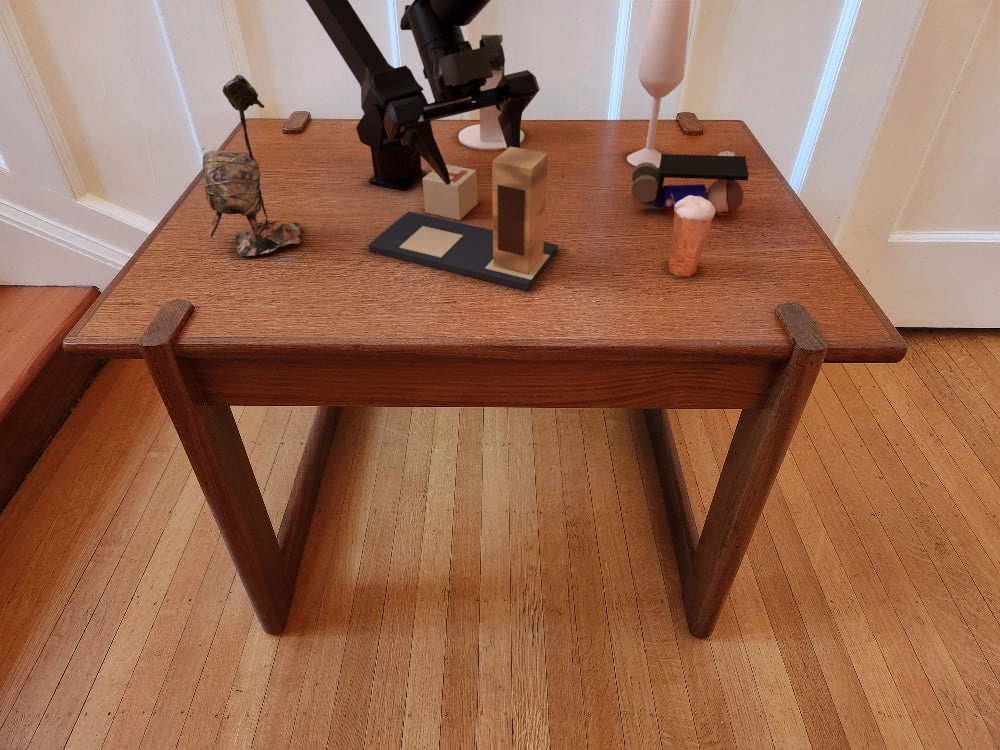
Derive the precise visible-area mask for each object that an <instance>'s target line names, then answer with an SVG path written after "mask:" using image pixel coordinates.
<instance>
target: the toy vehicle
mask: <svg viewBox="0 0 1000 750" xmlns="http://www.w3.org/2000/svg"><path fill="white" fill-rule="evenodd" d="M749 177H750V176H749V169H748V164H747V158H746V156H743V155H738V156H737V155H735V156H717V155H713V154H712V155H708V154H675V153H661V161H660V166H659V168H657V167H656V166H655V165H654V164H652V163H648V162H644V163H640V164H638V165H637V166H635V167H634V168H633V170H632V175H631V180H632V186H631V195H632V196H633V198H634V199H635V200H636V201H639V202H641V203H649V204H650V203H652V204H653V203H654V207H652V206H651V207H649V206H648V207H644V208H642V210H643V211H645V212H663V211H666V210H667V209H674V204H673V200H674V203H675V204H676V203H677V202H678V201H680V200H681V199H683V198H685V197H687V196H690V195H692V196H700V197H703V198H704V199H706V200H708V201H710V202H711V203H712V205H713V206H714V208H715V214H716V215H719V216H727V215H730V214H733V213H734V212H736V211H737V210H738V209H739V208H740V207H741V206H742V203H743V201H744V189H743V186H742V185H741V183H740V182H739V181H748V180H749ZM665 178H667V179H669V178H670V179H695V180H696V179H697V180H714V181H713V182H712V183H711V184H710V185H709V187H708V188H707V187H706V184H667V185H664V183H665ZM671 194H672V196H673V200H672V196H671Z"/></svg>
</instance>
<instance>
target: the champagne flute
mask: <svg viewBox="0 0 1000 750" xmlns="http://www.w3.org/2000/svg"><path fill="white" fill-rule="evenodd" d="M691 2H692V0H653V2H652V7H651V12H650V16H649V21H648V25H647V28H646V29H647V30H646V34H645V39H644V44H643V48H642V53H641V57H640V62H639V66H638V71H637V76H638V79H639V82H640V84H641V86H642V87H643V89H644V90H645V91H646V93H647V94H648V95H649V96H650V97H651V98H652V103H651V111H650V117H649V124H648V130H647V137H646V143H645V144H646V145H645V147H644V148H642V149H639V150H637V151H634V152H632V153H630V154H629V155H627V157H626V161H627V162H628V163H629V164H631V165H632V166H635V167H636V166H637V165H638V164H640V163H644V162H648V163H652V164H654V165H655V166H656V167H657V169H659V166H660V161H661V154H662V153H661V152H659V151H658V150H656V149H655V148H654V145H655V139H656V133H657V126H658V121H659V116H660V115H659V114H660V107H661V103H662V102H661V101H662V98H665V97H666V96H668V95H669V94H670V93H672V92H673V91H674V90H675V89H676V88H677V87H678V86H679V85H681V83H682V81H683V80H684V78H685V72H686V71H685V70H686V60H687V59H686V58H687V49H688V48H687V47H688V37H689V27H690V26H689V24H690V14H691V13H690V12H691V4H692V3H691Z"/></svg>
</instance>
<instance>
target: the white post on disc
mask: <svg viewBox="0 0 1000 750" xmlns="http://www.w3.org/2000/svg"><path fill="white" fill-rule="evenodd" d="M496 35H498V37H499V40H500V42H501V45H502V46H503V34H480V40H481V39H484V38H487V37H492V36H496ZM478 48H480V46H479V45H478ZM492 72H493V77H492V78H487V79H486V80H487V82H486V84H485V85H484V86H481V87H480V89H481V91H484V90H488V89H492V88H496V86H497V84H498V83H499V81H500V80H501V78H502V76H504V75H505V64H504V65H503V66H500V67H495V68H492ZM501 113H502V112H501V111H499V110H497V109H496V106H495V105H494V106H490V107H485V108H481V109H479V123H478V124H473V125H470V126H467V127H464V128H462V129H461V130H460V131H459V133H458V136H457V137H458V141H459V142H460V143H461V144H462V145H464V146H466V147H468V148H471V149H475V150H480V151H481V150H482V151H499V150H507V145H506V142H505V139H504V136H503V133H502V130H501V127H500V124H499V121H498V117H499V115H500V114H501ZM524 140H525V133H524V132H523V130H521V129H520V144H522V143H523V141H524Z"/></svg>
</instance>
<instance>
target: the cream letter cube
mask: <svg viewBox="0 0 1000 750" xmlns="http://www.w3.org/2000/svg"><path fill="white" fill-rule="evenodd" d="M445 165H446V167H447V170H448V173H449V177H450V181H451V183H450V184H449V185H446V184H445V183H444V181H443V180H442V179H441V178H440V177H439V176H438V174H437V173H436V172H435V171H434V170H433V169H432V171H430V172H428V174H425V175H424V176H423V177H422V178H421V179H422V190H423V203H424V213H425V214H429V215H435V216H439V217H444V218H449V219H453V220H458V221H461V220H462V219H463V218H464V217H465V216H466V215H467V214H468V213H469V212H470V211H471V210H472V209H473V208H474V207H476V206H477V205H478V180H477V179H478V176H477V174H478V173H477V170H476V169H471V168H467V167H463V166H462V167H461V166H456V165H451V164H446V163H445Z"/></svg>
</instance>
